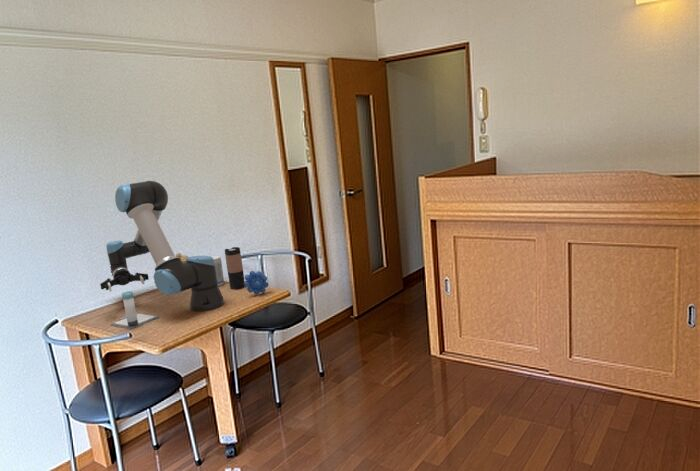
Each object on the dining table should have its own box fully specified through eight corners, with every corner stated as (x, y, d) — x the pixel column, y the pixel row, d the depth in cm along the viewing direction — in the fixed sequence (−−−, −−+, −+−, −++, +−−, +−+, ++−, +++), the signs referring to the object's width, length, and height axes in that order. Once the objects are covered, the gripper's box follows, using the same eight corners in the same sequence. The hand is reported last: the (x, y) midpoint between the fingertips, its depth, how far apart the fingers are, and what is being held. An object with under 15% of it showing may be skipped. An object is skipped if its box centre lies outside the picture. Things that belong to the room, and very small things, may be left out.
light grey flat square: (158, 317, 230) (158, 314, 230) (131, 329, 218) (130, 326, 218) (138, 314, 237) (138, 311, 237) (110, 325, 226) (110, 322, 225)
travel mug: (241, 289, 260) (236, 250, 256) (227, 289, 262) (221, 251, 258) (247, 284, 267) (242, 246, 264) (233, 285, 269) (228, 247, 265)
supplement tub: (203, 288, 269) (199, 260, 266) (208, 283, 278) (204, 256, 275) (222, 286, 268) (218, 259, 265) (226, 281, 278) (222, 254, 275)
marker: (140, 323, 222) (134, 291, 219) (131, 327, 218) (125, 294, 216) (134, 322, 224) (128, 290, 221) (125, 325, 221) (119, 294, 218)
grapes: (248, 299, 243) (244, 274, 240) (244, 296, 249) (240, 271, 246) (272, 294, 248) (269, 269, 245) (267, 290, 254) (264, 266, 251)
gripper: (150, 278, 257) (157, 286, 238) (95, 289, 245) (97, 299, 227) (147, 263, 255) (154, 270, 237) (91, 274, 244) (94, 283, 225)
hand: (126, 284), depth 232 cm, fingers open, 13 cm apart
